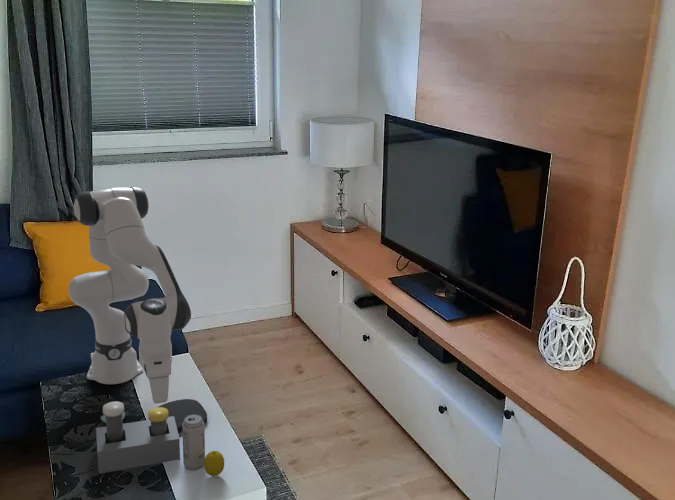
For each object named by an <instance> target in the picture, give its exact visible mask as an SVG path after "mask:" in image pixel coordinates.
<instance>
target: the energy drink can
mask: <svg viewBox="0 0 675 500" xmlns="http://www.w3.org/2000/svg"><path fill="white" fill-rule="evenodd" d="M205 432H206V431H205V425H204V421H203V420H202V417H201V416H200V415H197V414H192V415H188V416H186V417H185V419H184V422H183V424H182V432H181V433H182V454H183V455H182V456H183V459H182V461H183V465H184V467H185V468H186V469H187V470H190V471H196V470H200V469H201V468H202V467H204V460H205V457H206V450H205V449H206V443H205V442H206V441H205V439H206V437H205Z"/></svg>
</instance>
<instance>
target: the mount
mask: <svg viewBox="0 0 675 500" xmlns="http://www.w3.org/2000/svg"><path fill="white" fill-rule="evenodd" d="M166 420H167V434H164V435H157V436H151V421H150V420H149V419H146V420H140V421H139V420H138V421H134V422H133V421H132V422H126V423H123V435H124V441H120V442H114V443H108V442H107V429H106V426H101V427H95V430H96V431H95V434H96V451H97V452H96V453H97V465H98V474H99V475H101V474H104V473H111V472H117V471H123V470H127V469H128V468H129V469H134V468H133V467H135V468H139V466H140V467H145V465H146V466H150V465H156V464H163V463H167V462H175V461H180V460H181V447H180V444H181V443H180V442H181V441H180V435H179V433H178V431H177V426H176V422H175V418H174V416H171V417H168V418H167V419H166ZM129 469H128V470H129Z"/></svg>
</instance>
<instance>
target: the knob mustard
mask: <svg viewBox="0 0 675 500" xmlns="http://www.w3.org/2000/svg"><path fill="white" fill-rule="evenodd" d="M147 418H148V419H147V420H150V421H151V436H157V435H164V434H167V420H166V419H167V418H168V410H167V409H166V408H163V407H158V406H157V407H154V408H152V409H150V410H149V411H148V413H147Z"/></svg>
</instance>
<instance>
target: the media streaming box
mask: <svg viewBox="0 0 675 500" xmlns="http://www.w3.org/2000/svg"><path fill="white" fill-rule="evenodd" d="M157 407H163V408H166V409H167V410H168V417H171V416H174V418H175V422H176V426H177V431H178V434H180V433H182V424H183V422H184V419H185V417H186V416H188V415H192V414H197V415H200V416H201V417H202V420H203V421H204V426H205V425H206V424H207V423H208V412H207V411H206V409H205V408H204V407H203V405H202V404H201V402H199V401H198V400H196V399H193V398H181V399H176V400H172V401H167V402H164V403H163V404H161V405H159V406H158V405H157Z"/></svg>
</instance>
